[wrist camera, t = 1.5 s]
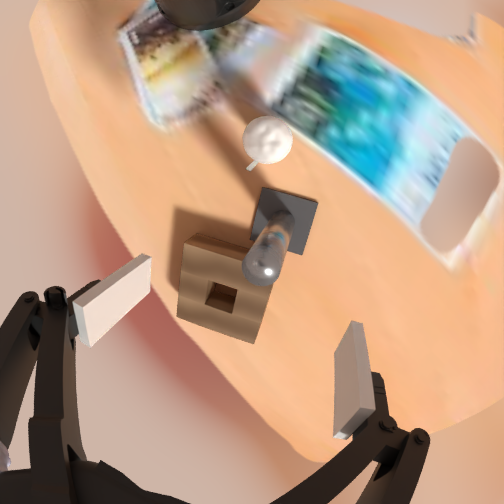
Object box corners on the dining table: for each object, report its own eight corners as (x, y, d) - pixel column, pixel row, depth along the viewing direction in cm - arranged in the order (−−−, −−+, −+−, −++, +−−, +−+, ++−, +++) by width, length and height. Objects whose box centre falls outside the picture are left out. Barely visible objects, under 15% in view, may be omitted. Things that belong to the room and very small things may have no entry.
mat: (262, 187, 33) (262, 187, 33) (318, 202, 32) (318, 203, 32) (250, 238, 36) (249, 239, 36) (302, 254, 35) (302, 255, 35)
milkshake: (251, 156, 32) (224, 159, 23) (270, 117, 30) (251, 104, 21) (284, 173, 32) (270, 182, 23) (304, 134, 30) (299, 127, 21)
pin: (274, 207, 33) (245, 245, 21) (297, 214, 33) (284, 257, 20) (268, 229, 34) (238, 279, 22) (291, 236, 34) (274, 290, 21)
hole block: (196, 233, 37) (184, 242, 34) (280, 258, 36) (276, 271, 32) (187, 303, 42) (176, 316, 39) (259, 327, 41) (253, 344, 37)
